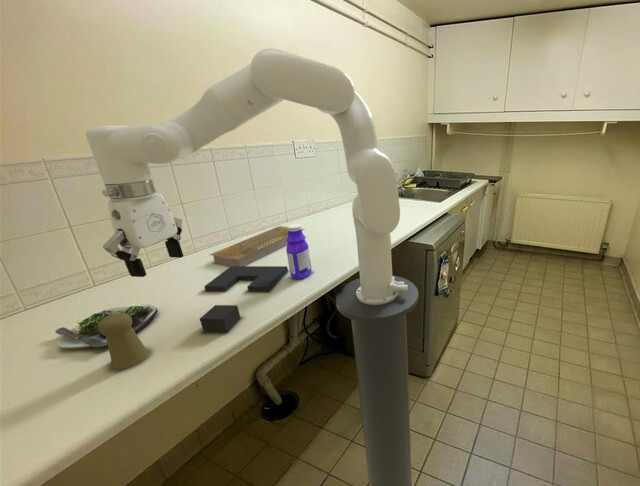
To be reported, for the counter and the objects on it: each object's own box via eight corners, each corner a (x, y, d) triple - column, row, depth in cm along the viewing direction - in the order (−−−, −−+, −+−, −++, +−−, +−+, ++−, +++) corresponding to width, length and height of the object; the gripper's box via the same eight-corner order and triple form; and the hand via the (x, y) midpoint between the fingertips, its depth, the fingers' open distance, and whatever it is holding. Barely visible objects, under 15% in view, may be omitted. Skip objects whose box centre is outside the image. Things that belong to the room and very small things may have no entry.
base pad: (288, 270, 107) (287, 266, 107) (268, 291, 94) (267, 286, 94) (232, 270, 108) (231, 266, 108) (205, 291, 95) (204, 286, 95)
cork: (151, 346, 72) (134, 305, 68) (145, 363, 67) (127, 320, 63) (117, 355, 69) (98, 313, 65) (108, 373, 64) (87, 329, 60)
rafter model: (239, 269, 109) (235, 253, 107) (211, 263, 114) (206, 248, 112) (305, 236, 139) (303, 223, 137) (281, 233, 144) (278, 220, 142)
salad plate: (25, 359, 69) (14, 342, 67) (93, 313, 85) (86, 298, 84) (118, 352, 70) (111, 335, 69) (167, 308, 87) (162, 293, 85)
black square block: (240, 318, 82) (237, 305, 80) (227, 332, 76) (223, 319, 75) (218, 317, 82) (215, 305, 81) (203, 332, 76) (199, 318, 75)
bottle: (301, 269, 108) (293, 221, 102) (315, 271, 106) (308, 223, 100) (287, 278, 102) (278, 228, 95) (302, 281, 100) (293, 230, 94)
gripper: (104, 200, 55) (137, 285, 61) (183, 182, 71) (202, 251, 77) (68, 200, 56) (104, 284, 62) (153, 182, 72) (175, 250, 78)
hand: (159, 265), depth 69 cm, fingers open, 9 cm apart
